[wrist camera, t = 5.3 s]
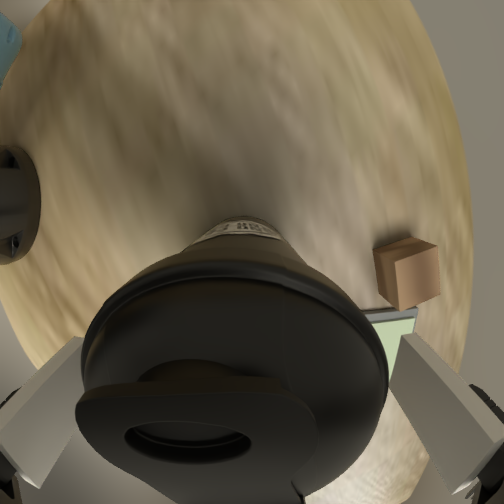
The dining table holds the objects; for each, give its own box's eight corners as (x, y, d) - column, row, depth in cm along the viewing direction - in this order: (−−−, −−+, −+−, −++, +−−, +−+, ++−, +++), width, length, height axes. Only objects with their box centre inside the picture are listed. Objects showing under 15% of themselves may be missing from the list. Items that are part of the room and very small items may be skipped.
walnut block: (378, 293, 28) (399, 311, 23) (372, 249, 27) (394, 261, 22) (415, 279, 27) (440, 294, 23) (411, 236, 26) (437, 246, 21)
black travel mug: (286, 196, 25) (481, 249, 3) (304, 298, 28) (399, 518, 5) (179, 220, 26) (-36, 340, 3) (206, 318, 28) (140, 540, 6)
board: (220, 397, 30) (219, 403, 29) (211, 318, 28) (210, 323, 27) (397, 380, 30) (400, 385, 29) (415, 305, 28) (420, 309, 27)
